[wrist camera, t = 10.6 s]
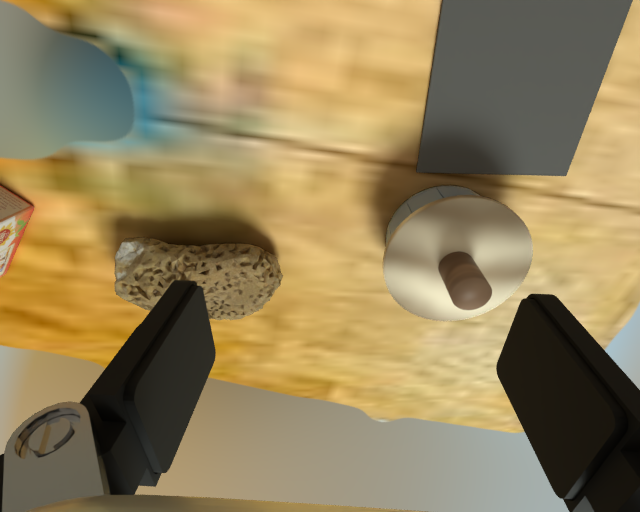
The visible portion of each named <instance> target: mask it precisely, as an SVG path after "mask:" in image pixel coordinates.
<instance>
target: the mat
mask: <svg viewBox="0 0 640 512" xmlns="http://www.w3.org/2000/svg"><path fill="white" fill-rule="evenodd" d="M632 1H633V0H442V5H441V11H440V18H439V25H438V31H437V38H436V44H435V51H434V57H433V64H432V71H431V77H430V84H429V90H428V97H427V104H426V110H425V117H424V123H423V130H422V136H421V143H420V150H419V156H418V163H417V169H416V172H422V173H463V174H504V175H545V176H566V175H567V172H568V170H569V167H570V164H571V162H572V159H573V157H574V154H575V151H576V149H577V146H578V143H579V141H580V138H581V135H582V133H583V130H584V127H585V125H586V122H587V120H588V117H589V114H590V112H591V109H592V106H593V104H594V101H595V98H596V96H597V93H598V91H599V88H600V85H601V83H602V80H603V77H604V75H605V72H606V69H607V67H608V64H609V61H610V59H611V56H612V54H613V51H614V48H615V46H616V43H617V40H618V38H619V35H620V32H621V30H622V27H623V24H624V22H625V19H626V17H627V14H628V11H629V9H630V6H631V3H632Z"/></svg>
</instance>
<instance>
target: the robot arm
mask: <svg viewBox="0 0 640 512" xmlns="http://www.w3.org/2000/svg"><path fill="white" fill-rule="evenodd" d="M214 361H215V346H214V341H213V336H212V331H211V326H210V321H209V316H208V311H207V306H206V301H205V296H204V291H203V288H202V286H197V283H196V282H195V281H190V280H174V281H173V282H172V283H171V285H170V286H169V287H168V289H167V290H166V291H165V293H164V294H163V295H162V297H161V298H160V299H159V301H158V302H157V303H156V305H155V306H154V307H153V309H152V310H151V311H150V313H149V314H148V315H147V317H146V318H145V319H144V321H143V322H142V323H141V324H140V325H139V326H138V327H137V328H136V329H135V330H134V332H133V333H132V334H131V336H130V337H129V338H128V340H127V341H126V342H125V344H124V345H123V346H122V348H121V349H120V350H119V352H118V353H117V354H116V356H115V357H114V358H113V360H112V361H111V362H110V364H109V365H108V366H107V367H106V369H105V370H104V371H103V373H102V374H101V375H100V377H99V378H98V379H97V381H96V382H95V383H94V385H93V386H92V388H91V389H90V390H89V391H88V393H87V394H86V395H85V397H84V398H83V399H82V401H81V402H80V403H77V402H63V403H58V404H55V405H52V406H49V407H46V408H44V409H43V410H41V411H39V412H37V413H35V414H34V415H32V416H31V417H30V418H28V419H27V420H25V421H24V422H23V423H22V424H21V425H20V426H19V427H18V428H17V429H16V430H15V431H14V432H13V434H12V435H11V437H10V439H9V440H8V442H7V445H6V448H5V453H4V454H2V455H0V512H426V511H411V510H396V509H381V508H366V507H351V506H336V505H335V506H334V505H320V504H304V503H288V502H273V501H256V500H240V499H224V498H207V497H205V498H204V497H182V496H160V495H159V496H158V495H134V494H135V492H136V490H137V488H138V486H139V485H140V486H156V485H157V482H158V480H159V478H160V475H161V473H166V472H167V471H168V469H169V468H170V466H171V464H172V461H173V459H174V457H175V454H176V452H177V450H178V447H179V445H180V442H181V440H182V437H183V435H184V433H185V430H186V428H187V426H188V423H189V421H190V418H191V416H192V414H193V411H194V409H195V406H196V404H197V402H198V399H199V397H200V394H201V392H202V390H203V387H204V385H205V383H206V380H207V378H208V375H209V373H210V371H211V368H212V366H213V363H214ZM496 369H497V375H498V378H499V380H500V382H501V384H502V386H503V388H504V390H505V392H506V394H507V396H508V398H509V400H510V402H511V404H512V406H513V408H514V410H515V412H516V414H517V417H518V419H519V421H520V423H521V425H522V427H523V429H524V431H525V433H526V435H527V437H528V439H529V441H530V443H531V445H532V447H533V449H534V451H535V454H536V455H537V457H538V460H539V462H540V464H541V466H542V468H543V470H544V472H545V474H546V476H547V478H548V480H549V482H550V484H551V486H552V488H553V490H554V492H555V494H556V495H557V496H558V497H559V498H562V499H563V500H564V502H565V504H566V506H567V508H568V510H569V511H570V512H640V390H639V389H638V388H637V387H636V385H635V384H634V383H633V382H632V381H631V380H630V379H629V378H628V376H627V375H626V374H625V373H624V372H623V371H622V370H621V369H620V368H619V367H618V365H617V364H616V363H615V362H614V361H613V360H612V359H611V357H610V356H609V355H608V354H607V353H606V352H605V351H604V349H603V348H602V347H601V346H600V345H599V344H598V343H597V342H596V341H595V339H594V338H593V337H592V336H591V335H590V334H589V333H588V332H587V330H586V329H585V328H584V327H583V326H582V325H581V324H580V323H579V321H578V320H577V319H576V318H575V317H574V316H573V315H572V314H571V312H570V311H569V310H568V309H567V308H566V307H565V306H564V305H563V303H562V302H561V301H560V300H559V299H558V298H557V297H556V296H555V295H549V294H530V295H529V296H528V297H527V299H523V300H522V301H521V302H520V305H519V307H518V310H517V313H516V315H515V318H514V321H513V323H512V326H511V328H510V331H509V334H508V336H507V339H506V341H505V344H504V347H503V349H502V352H501V355H500V357H499V360H498V362H497V368H496Z"/></svg>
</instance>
